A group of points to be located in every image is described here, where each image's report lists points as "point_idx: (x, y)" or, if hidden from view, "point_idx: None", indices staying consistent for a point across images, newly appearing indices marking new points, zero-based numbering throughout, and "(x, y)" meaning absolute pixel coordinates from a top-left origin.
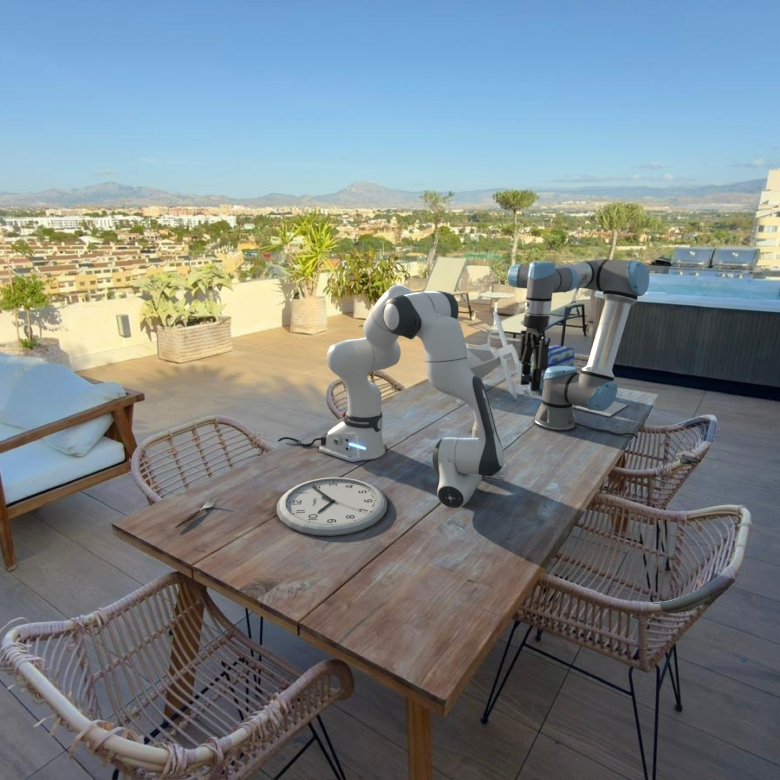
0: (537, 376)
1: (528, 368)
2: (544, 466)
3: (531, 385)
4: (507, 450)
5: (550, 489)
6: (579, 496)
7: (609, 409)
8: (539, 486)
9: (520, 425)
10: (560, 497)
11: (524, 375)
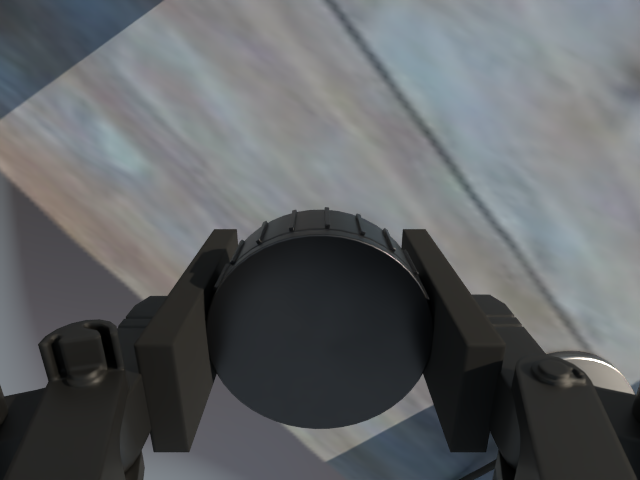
0: (119, 333)
1: (439, 386)
2: (259, 201)
3: (213, 247)
4: (414, 139)
5: (95, 129)
6: (46, 193)
7: None
8: (118, 103)
9: (600, 299)
10: (40, 131)
11: (286, 235)
